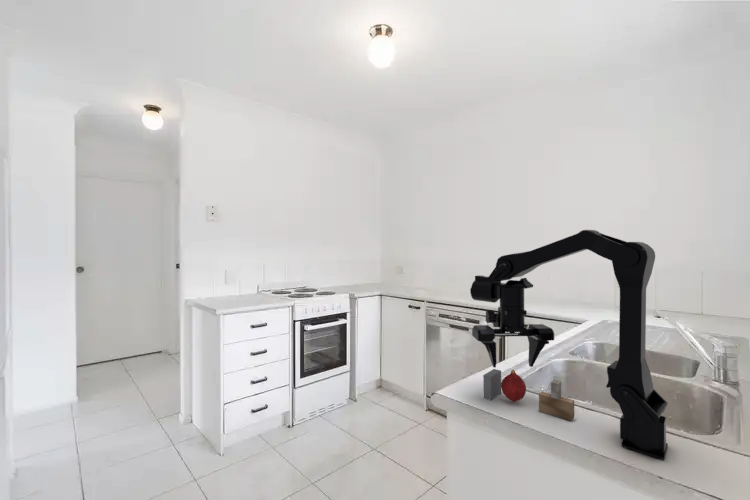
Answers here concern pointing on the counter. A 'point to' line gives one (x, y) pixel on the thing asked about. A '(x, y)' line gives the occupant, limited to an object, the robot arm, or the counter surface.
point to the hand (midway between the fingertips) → (512, 366)
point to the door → (556, 402)
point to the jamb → (492, 384)
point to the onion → (513, 387)
